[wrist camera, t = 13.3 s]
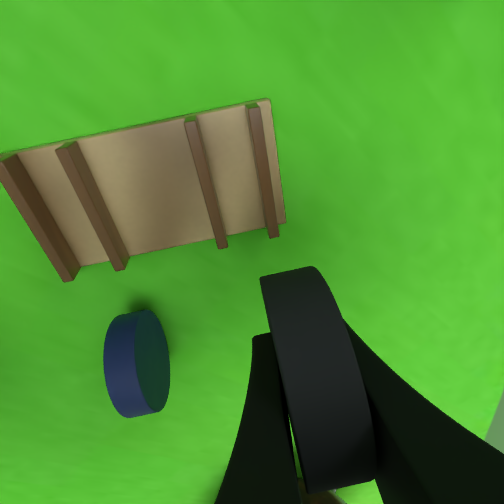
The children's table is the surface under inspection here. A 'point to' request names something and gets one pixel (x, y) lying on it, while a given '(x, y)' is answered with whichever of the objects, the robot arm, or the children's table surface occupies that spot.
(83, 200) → the disc rack
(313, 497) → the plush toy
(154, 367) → the navy disc
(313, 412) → the rubber puck
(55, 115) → the children's table surface
